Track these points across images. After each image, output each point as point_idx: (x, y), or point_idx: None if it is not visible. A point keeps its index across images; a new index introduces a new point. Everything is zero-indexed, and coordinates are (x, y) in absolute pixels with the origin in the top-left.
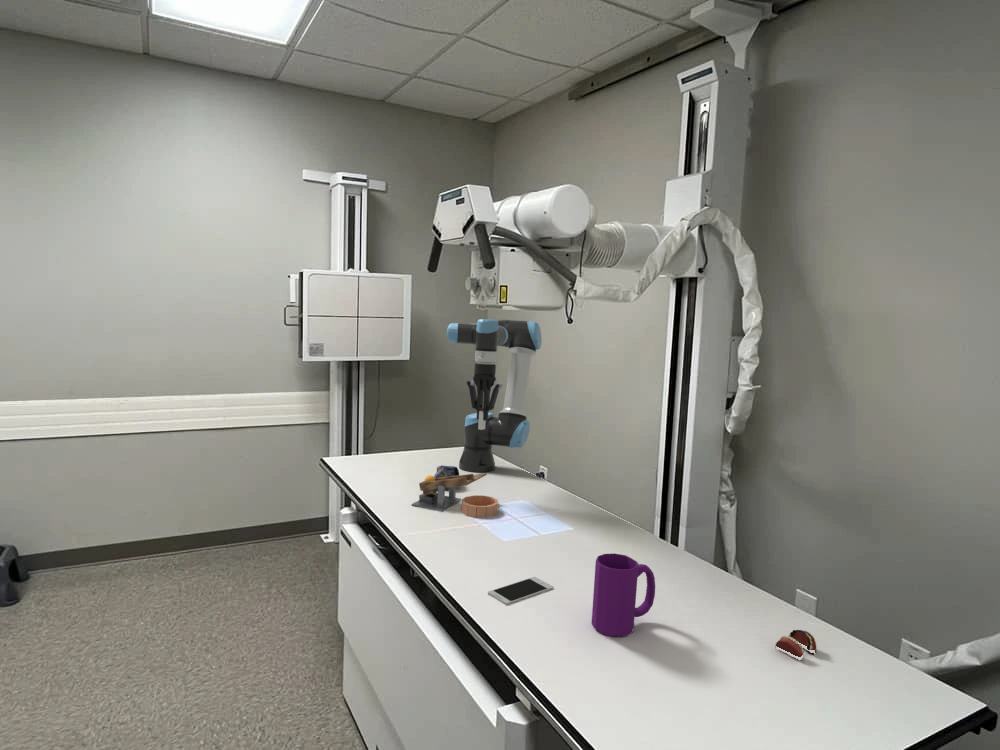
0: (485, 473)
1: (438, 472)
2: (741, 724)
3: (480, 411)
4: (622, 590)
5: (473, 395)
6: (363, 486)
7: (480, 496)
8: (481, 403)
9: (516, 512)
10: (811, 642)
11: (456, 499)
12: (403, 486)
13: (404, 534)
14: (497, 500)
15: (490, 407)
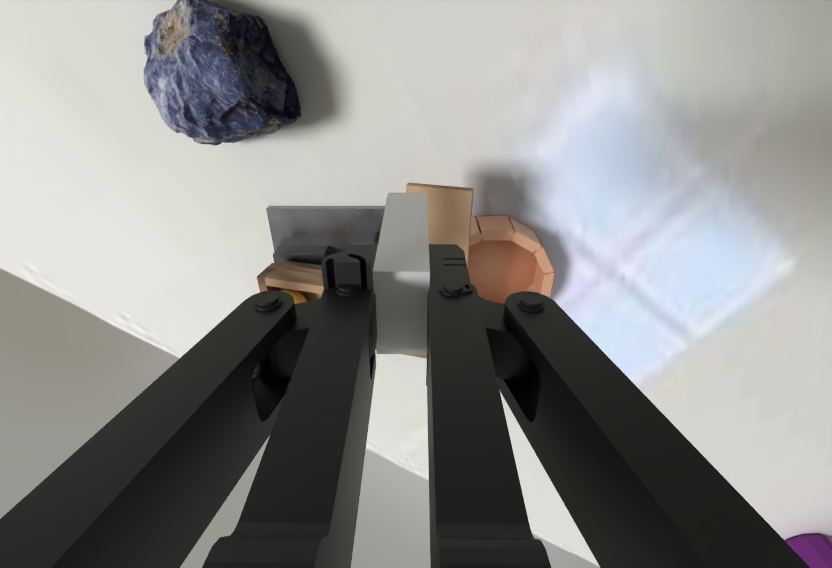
0: (469, 198)
1: (198, 138)
2: None
3: (395, 353)
4: None
5: (204, 526)
6: (20, 245)
7: (474, 243)
8: (367, 377)
9: (602, 220)
10: None
11: (376, 224)
12: (110, 170)
13: (398, 455)
14: (545, 253)
15: (537, 392)
